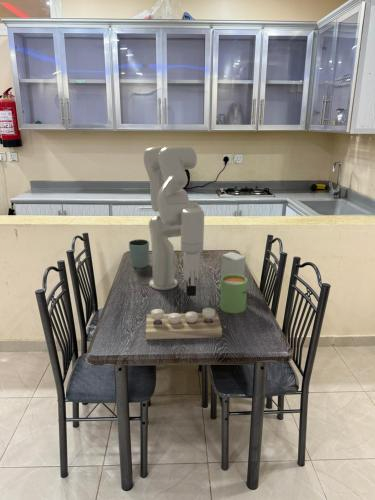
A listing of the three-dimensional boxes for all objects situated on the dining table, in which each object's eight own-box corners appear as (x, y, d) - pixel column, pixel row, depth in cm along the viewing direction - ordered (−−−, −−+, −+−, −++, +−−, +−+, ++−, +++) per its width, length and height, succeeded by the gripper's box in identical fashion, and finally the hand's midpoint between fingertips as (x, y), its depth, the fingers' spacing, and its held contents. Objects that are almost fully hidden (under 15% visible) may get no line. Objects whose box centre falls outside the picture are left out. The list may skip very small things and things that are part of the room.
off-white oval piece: (151, 321, 142) (151, 309, 140) (164, 321, 142) (163, 308, 140) (151, 327, 138) (150, 315, 136) (164, 327, 138) (163, 314, 136)
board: (147, 321, 146) (147, 314, 145) (217, 319, 147) (217, 312, 146) (145, 339, 135) (145, 331, 134) (221, 337, 136) (222, 329, 135)
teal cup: (145, 269, 194) (144, 246, 190) (126, 267, 197) (125, 244, 193) (152, 262, 204) (152, 240, 200) (134, 260, 206) (133, 238, 202)
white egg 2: (185, 324, 143) (185, 311, 141) (197, 323, 143) (197, 311, 141) (185, 330, 139) (185, 317, 137) (198, 330, 139) (198, 317, 137)
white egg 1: (168, 325, 143) (168, 313, 141) (180, 325, 143) (180, 312, 141) (168, 331, 139) (168, 319, 137) (181, 331, 139) (181, 318, 137)
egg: (201, 320, 143) (201, 307, 141) (213, 319, 143) (214, 307, 141) (202, 326, 139) (203, 313, 137) (215, 326, 139) (215, 313, 137)
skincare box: (219, 287, 174) (220, 254, 169) (229, 283, 178) (231, 251, 173) (234, 294, 168) (235, 259, 163) (244, 289, 173) (246, 256, 167)
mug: (246, 314, 152) (247, 285, 148) (218, 312, 153) (219, 283, 149) (247, 299, 163) (249, 273, 159) (222, 297, 165) (223, 271, 161)
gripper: (179, 238, 138) (179, 285, 144) (181, 254, 124) (181, 305, 130) (201, 237, 138) (200, 285, 145) (205, 253, 124) (203, 305, 131)
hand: (191, 294), depth 138 cm, fingers closed
